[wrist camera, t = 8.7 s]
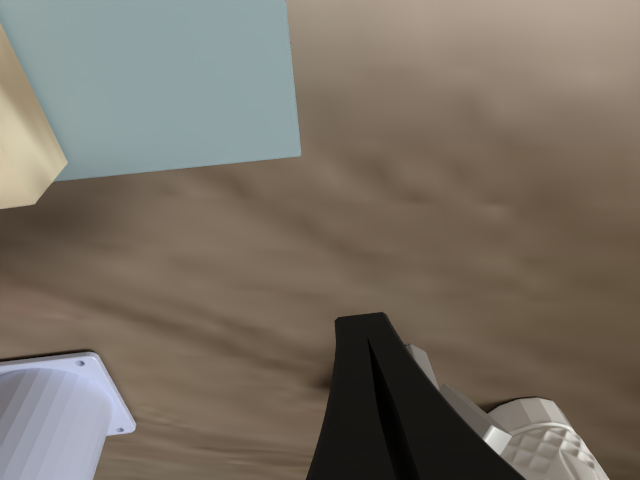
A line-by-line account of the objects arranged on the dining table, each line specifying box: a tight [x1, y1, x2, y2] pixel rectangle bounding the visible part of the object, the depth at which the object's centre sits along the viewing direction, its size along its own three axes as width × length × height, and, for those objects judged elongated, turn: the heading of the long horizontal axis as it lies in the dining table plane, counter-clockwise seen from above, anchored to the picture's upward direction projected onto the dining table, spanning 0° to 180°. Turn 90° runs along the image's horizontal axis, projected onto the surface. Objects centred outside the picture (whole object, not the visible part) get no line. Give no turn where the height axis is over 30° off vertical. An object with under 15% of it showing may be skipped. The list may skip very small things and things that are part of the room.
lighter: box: [405, 344, 512, 455], centre depth 26 cm, size 7×2×8 cm, turn 140°
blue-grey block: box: [0, 0, 301, 182], centre depth 14 cm, size 13×11×6 cm
